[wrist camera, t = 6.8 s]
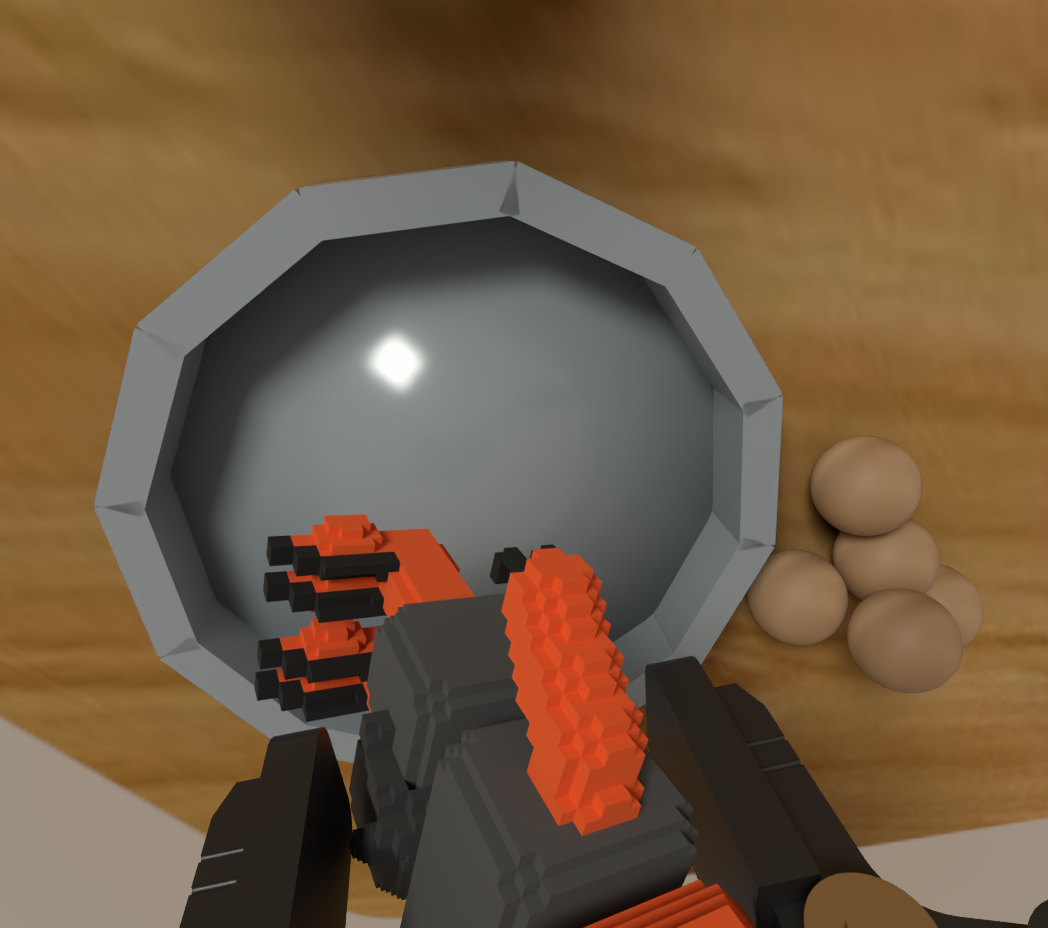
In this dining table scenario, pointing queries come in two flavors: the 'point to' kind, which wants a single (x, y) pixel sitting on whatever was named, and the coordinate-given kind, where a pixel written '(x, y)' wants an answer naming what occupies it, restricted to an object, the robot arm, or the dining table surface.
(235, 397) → the dish
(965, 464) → the dining table surface
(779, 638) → the bead pile
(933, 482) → the dining table surface
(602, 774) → the toy animal
